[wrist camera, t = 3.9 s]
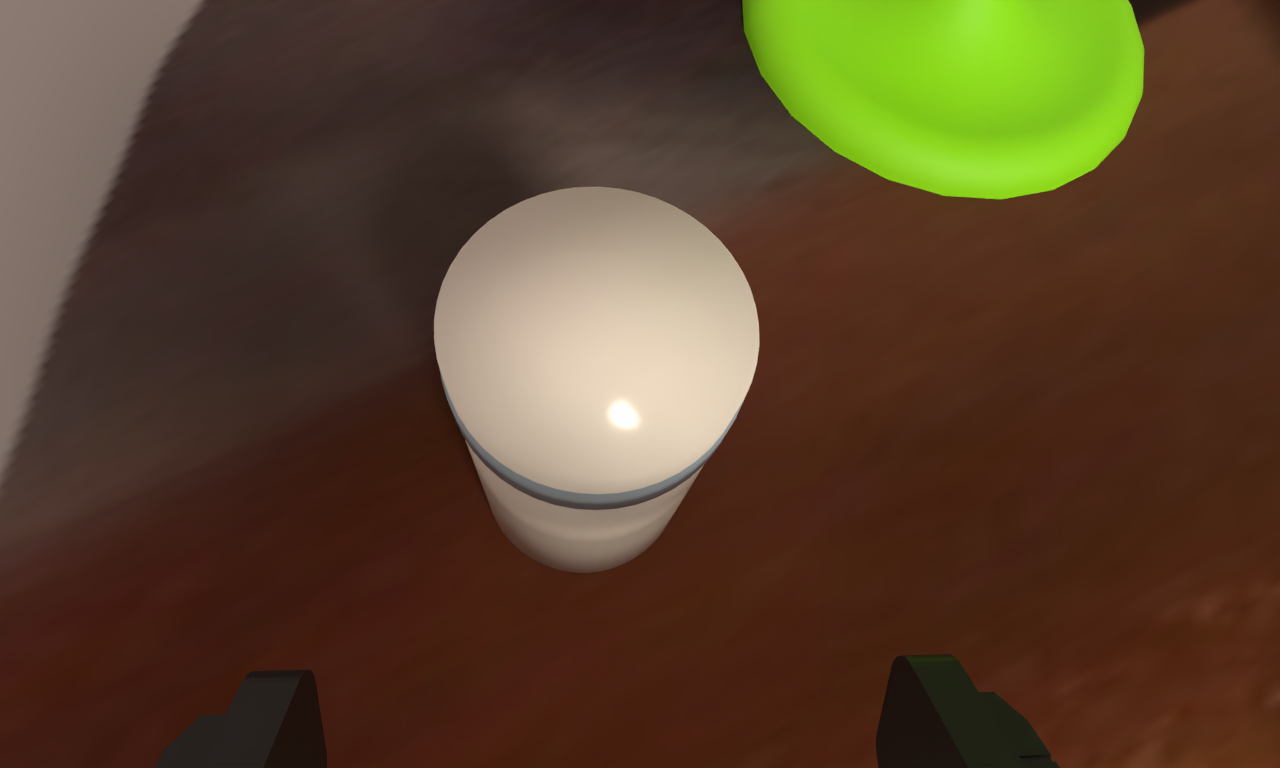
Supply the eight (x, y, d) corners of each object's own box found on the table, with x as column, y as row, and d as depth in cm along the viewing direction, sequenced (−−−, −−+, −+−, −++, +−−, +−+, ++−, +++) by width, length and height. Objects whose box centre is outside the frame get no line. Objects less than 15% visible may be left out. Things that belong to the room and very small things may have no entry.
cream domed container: (677, 384, 24) (749, 190, 15) (685, 573, 22) (775, 483, 13) (488, 382, 24) (442, 178, 14) (479, 576, 22) (417, 484, 12)
